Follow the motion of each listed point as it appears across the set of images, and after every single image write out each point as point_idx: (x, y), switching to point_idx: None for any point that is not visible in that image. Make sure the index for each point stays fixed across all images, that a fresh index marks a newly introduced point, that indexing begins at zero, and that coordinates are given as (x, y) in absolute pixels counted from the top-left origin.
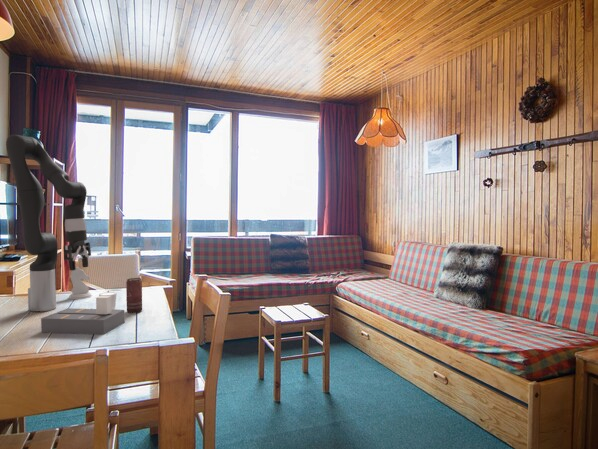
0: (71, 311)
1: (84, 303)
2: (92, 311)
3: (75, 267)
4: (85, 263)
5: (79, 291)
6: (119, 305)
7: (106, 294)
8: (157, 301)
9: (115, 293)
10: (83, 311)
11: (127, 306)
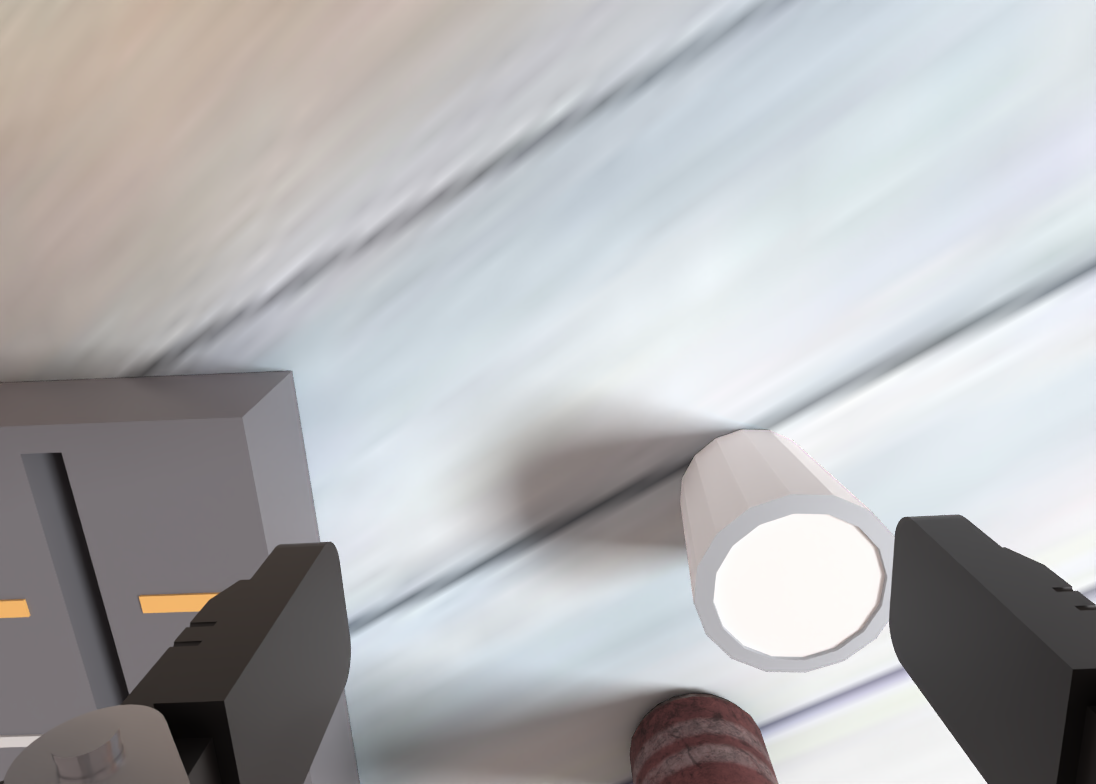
0: (145, 544)
1: (1058, 27)
2: None
3: (323, 713)
4: (943, 666)
5: None
6: (929, 506)
7: (767, 587)
8: None
9: (821, 661)
10: None
11: (647, 758)
